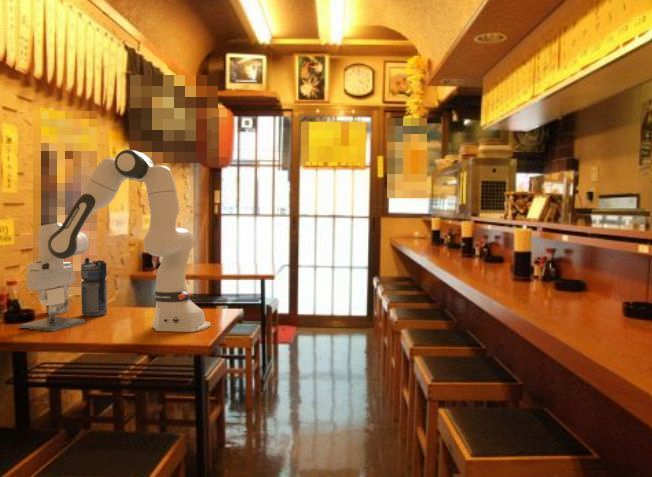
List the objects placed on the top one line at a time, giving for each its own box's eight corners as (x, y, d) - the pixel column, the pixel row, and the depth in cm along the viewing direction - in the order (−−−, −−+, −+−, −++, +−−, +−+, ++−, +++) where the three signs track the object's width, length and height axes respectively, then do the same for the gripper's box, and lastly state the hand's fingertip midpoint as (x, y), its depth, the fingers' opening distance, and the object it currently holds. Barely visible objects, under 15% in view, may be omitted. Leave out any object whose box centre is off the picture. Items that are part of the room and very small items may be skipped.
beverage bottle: (95, 318, 210) (93, 260, 209) (75, 315, 217) (74, 258, 215) (115, 314, 219) (114, 258, 218) (96, 311, 225) (95, 256, 224)
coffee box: (61, 314, 220) (60, 278, 219) (45, 314, 219) (45, 278, 218) (69, 310, 229) (68, 275, 228) (55, 310, 228) (54, 275, 227)
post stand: (84, 322, 202) (84, 294, 202) (52, 331, 187) (51, 301, 186) (53, 320, 207) (53, 292, 206) (19, 328, 192) (18, 299, 191)
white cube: (56, 301, 201) (55, 286, 201) (64, 302, 198) (63, 287, 197) (39, 304, 196) (38, 288, 195) (48, 305, 192) (47, 289, 192)
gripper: (66, 261, 206) (66, 294, 207) (22, 266, 187) (24, 302, 188) (78, 261, 205) (79, 294, 205) (36, 266, 185) (37, 303, 186)
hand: (52, 298), depth 196 cm, fingers closed on white cube, 7 cm apart
